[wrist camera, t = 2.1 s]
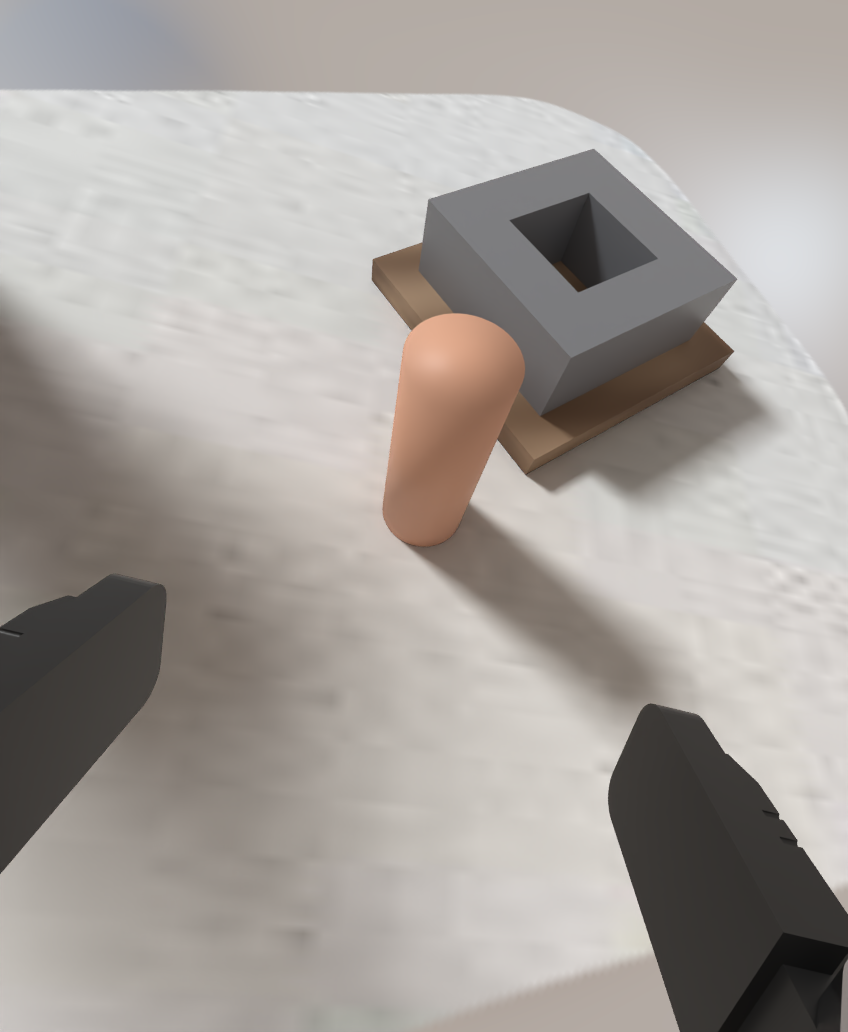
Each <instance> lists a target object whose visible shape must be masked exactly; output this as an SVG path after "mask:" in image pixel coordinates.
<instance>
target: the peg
mask: <svg viewBox="0 0 848 1032" xmlns="http://www.w3.org/2000/svg"><path fill="white" fill-rule="evenodd" d="M524 375H525V362H524V358H523V355H522V353H521V350H520V348H519V347H518V345H517V343H516V342H515V341H514V340H513V338H512V337H511V336H510V335H509V334H508V333H507V332H505V331H504V330H503V329H502V328H500V327H499V326H497V325H496V324H494V323H492V322H490V321H488V320H485V319H483V318H480V317H477V316H473V315H468V314H460V313H451V314H443V315H438V316H435V317H431V318H429V319H427V320H425V321H423V322H422V323H420V324H419V325H417V326H416V327H415V328H414V329H413V330H412V331H411V332H410V334H409V335H408V337H407V339H406V341H405V344H404V348H403V355H402V362H401V370H400V378H399V385H398V393H397V400H396V408H395V416H394V423H393V431H392V438H391V446H390V454H389V461H388V469H387V476H386V484H385V492H384V499H383V516H384V520H385V522H386V525H387V526H388V528H389V529H390V531H391V532H392V533H393V534H394V535H395V536H396V537H398V538H399V539H400V540H402V541H404V542H406V543H408V544H411V545H415V546H422V547H427V546H434V545H437V544H440V543H442V542H444V541H446V540H447V539H449V538H450V537H451V536H452V535H453V534H454V533H455V531H456V530H457V528H458V526H459V524H460V521H461V519H462V517H463V515H464V512H465V510H466V508H467V506H468V503H469V501H470V499H471V497H472V494H473V492H474V490H475V488H476V486H477V483H478V481H479V479H480V477H481V474H482V472H483V470H484V468H485V465H486V463H487V461H488V459H489V456H490V454H491V452H492V450H493V447H494V445H495V443H496V441H497V438H498V436H499V434H500V432H501V429H502V427H503V425H504V423H505V420H506V418H507V416H508V414H509V412H510V409H511V407H512V405H513V403H514V400H515V398H516V396H517V394H518V391H519V389H520V387H521V385H522V382H523V379H524Z"/></svg>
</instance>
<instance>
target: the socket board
mask: <svg viewBox="0 0 848 1032" xmlns="http://www.w3.org/2000/svg"><path fill="white" fill-rule="evenodd" d="M422 243H423V242H422ZM422 243H419V244H416V245H414V246H411V247H408V248H405V249H402V250H399V251H396V252H393V253H390V254H387V255H384V256H381V257H378V258H375V259H373V265H372V281H373V282H374V283H375V284H376V286H377V287H378V288H379V290H380V291H381V292H382V293H383V295H384V296H385V297H386V298H387V300H388V301H389V302H390V303H391V305H392V306H393V307H394V309H395V310H396V311H397V312H398V314H399V315H400V316H401V317H402V319H403V320H404V321H405V322H406V324H407V325H408V326H409V328H410V329H411V330H413V329H414V328H415V327H416V326H417V325H419V324H420V323H422V322H423V321H425V320H427V319H429V318H431V317H435V316H438V315H443V314H451V313H453V311H452V310H451V309H450V308H449V307H448V305H447V304H446V303H445V302H444V301H443V300H442V298H441V297H440V296H439V295H438V294H437V292H436V291H435V290H434V289H433V288H432V286H431V285H430V284H429V283H428V282H427V280H426V279H425V278H424V277H423V276H422V274H421V273H420V272H419V264H420V257H421V250H422ZM552 266H553V267H554V268H555V269H556V270H557V271H558V272H559V273H560V274H561V275H562V276H563V277H564V278H565V279H566V280H567V281H568V282H569V283H570V284H571V285H572V287H573V288H574V289H575V290H576V291H577V292H581V291H583V290H585V289H588V288H587V287H586V286H585V285H584V284H583V283H582V282H581V281H580V280H579V279H578V278H577V277H576V276H575V275H574V274H573V273H572V272H571V271H570V270H569V269H568V268H567V267H566V266H565V265H564V264H563V262H562V261H559V262H557V263H554V264H552ZM733 352H734V351H733V350H732V349H731V348H730V347H729V346H728V345H727V344H726V343H725V342H724V341H723V340H722V339H721V338H720V337H719V336H718V335H717V334H716V333H715V332H714V331H713V330H712V329H711V328H710V327H709V326H708V325H707V324H705V323H704V322H703V324H702V325H701V326H700V327H699V329H698V330H697V331H696V332H695V334H694V335H693V336H692V338H691V339H690V340H689V341H687V342H685V343H683V344H681V345H679V346H677V347H675V348H673V349H671V350H669V351H667V352H665V353H663V354H661V355H659V356H657V357H655V358H653V359H651V360H649V361H647V362H645V363H643V364H641V365H639V366H638V367H636V368H634V369H632V370H630V371H628V372H626V373H624V374H622V375H620V376H618V377H616V378H614V379H612V380H610V381H608V382H606V383H604V384H602V385H600V386H598V387H596V388H594V389H592V390H590V391H588V392H587V393H585V394H583V395H581V396H579V397H577V398H575V399H573V400H571V401H569V402H567V403H565V404H563V405H561V406H559V407H557V408H555V409H553V410H551V411H549V412H547V413H545V414H543V415H541V416H539V414H538V413H537V412H536V411H535V410H534V408H533V407H532V406H531V405H530V404H529V402H528V401H527V400H526V399H525V398H524V396H523V395H522V394H521V393H520V392H519V391H518V394H517V396H516V398H515V400H514V403H513V405H512V407H511V409H510V412H509V414H508V416H507V418H506V420H505V423H504V425H503V427H502V429H501V432H500V434H499V436H498V438H497V439H498V440H499V442H500V443H501V444H502V445H503V447H504V448H505V449H506V450H507V452H508V453H509V454H510V456H511V457H512V458H513V459H514V461H515V462H516V463H517V464H518V466H519V467H520V468H521V469H522V471H523V472H524V473H525V475H526V474H527V473H529V472H531V471H533V470H535V469H536V468H538V467H540V466H542V465H544V464H546V463H547V462H549V461H551V460H553V459H555V458H556V457H558V456H560V455H562V454H564V453H565V452H567V451H569V450H571V449H573V448H575V447H576V446H578V445H580V444H582V443H584V442H585V441H587V440H589V439H591V438H593V437H595V436H596V435H598V434H600V433H602V432H604V431H605V430H607V429H609V428H611V427H613V426H615V425H616V424H618V423H620V422H622V421H624V420H625V419H627V418H629V417H631V416H633V415H634V414H636V413H638V412H640V411H642V410H644V409H645V408H647V407H649V406H651V405H653V404H654V403H656V402H658V401H660V400H662V399H664V398H665V397H667V396H669V395H671V394H673V393H674V392H676V391H678V390H680V389H682V388H684V387H685V386H687V385H689V384H691V383H693V382H694V381H696V380H698V379H700V378H702V377H703V376H705V375H707V374H709V373H711V372H713V371H714V370H716V369H718V368H719V367H720V366H721V365H722V364H723V363H724V362H725V361H726V360H727V359H728V358H729V356H730V355H731V354H732V353H733Z"/></svg>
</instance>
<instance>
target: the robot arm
mask: <svg viewBox="0 0 848 1032" xmlns="http://www.w3.org/2000/svg"><path fill="white" fill-rule="evenodd" d="M165 609H166V590H165V588H164V586H163V585H161V584H157V583H153V582H149V581H145V580H140V579H136V578H132V577H128V576H124V575H120V574H111V575H109V576H107V577H106V578H104V579H103V580H101V581H100V582H98V583H97V584H96V585H94V586H93V587H91V588H90V589H88V590H87V591H85V592H84V593H82V594H81V595H79V596H78V597H73V596H65V597H62V598H59V599H56V600H53V601H50V602H47V603H44V604H41V605H38V606H35V607H32V608H29V609H28V610H26V611H25V612H23V613H22V614H20V615H18V616H17V617H15V618H14V619H12V620H11V621H9V622H7V623H6V624H4V625H3V626H1V627H0V874H1V872H2V871H3V870H4V869H5V868H6V867H7V865H8V864H9V863H10V862H11V861H12V859H13V858H14V857H15V856H16V855H17V854H18V852H19V851H20V850H21V849H22V848H23V847H24V845H25V844H26V843H27V842H28V841H29V839H30V838H31V837H32V836H33V835H34V834H35V832H36V831H37V830H38V829H39V828H40V827H41V825H42V824H43V823H44V822H45V821H46V819H47V818H48V817H49V816H50V815H51V814H52V812H53V811H54V810H55V809H56V808H57V807H58V805H59V804H60V803H61V802H62V801H63V799H64V798H65V797H66V796H67V795H68V794H69V792H70V791H71V790H72V789H73V788H74V787H75V785H76V784H77V783H78V782H79V781H80V779H81V778H82V777H83V776H84V775H85V774H86V772H87V771H88V770H89V769H90V768H91V767H92V765H93V764H94V763H95V762H96V761H97V759H98V758H99V757H100V756H101V755H102V754H103V752H104V751H105V750H106V749H107V748H108V747H109V745H110V744H111V743H112V742H113V741H114V739H115V738H116V737H117V736H118V735H119V734H120V732H121V731H122V730H123V729H124V728H125V727H126V725H127V724H128V723H129V722H130V721H131V719H132V718H133V717H134V716H135V715H136V714H137V712H138V711H139V710H140V709H141V708H142V706H143V705H144V704H145V702H146V701H147V699H148V698H149V696H150V694H151V692H152V690H153V688H154V685H155V683H156V680H157V677H158V674H159V669H160V662H161V652H162V641H163V631H164V620H165ZM608 805H609V813H610V817H611V820H612V823H613V827H614V830H615V833H616V836H617V839H618V842H619V845H620V848H621V851H622V854H623V857H624V860H625V864H626V867H627V870H628V873H629V876H630V879H631V882H632V885H633V888H634V891H635V894H636V897H637V901H638V904H639V907H640V910H641V913H642V916H643V919H644V922H645V925H646V928H647V931H648V934H649V938H650V941H651V944H652V947H653V950H654V953H655V956H656V959H657V962H658V965H659V968H660V972H661V975H662V978H663V981H664V984H665V987H666V990H667V993H668V996H669V999H670V1002H671V1005H672V1008H673V1012H674V1015H675V1018H676V1021H677V1024H678V1027H679V1030H680V1032H848V914H847V913H846V911H845V910H844V908H843V907H842V905H841V904H840V902H839V901H838V899H837V898H836V896H835V895H834V893H833V892H832V890H831V889H830V888H829V886H828V885H827V883H826V882H825V880H824V879H823V877H822V876H821V874H820V873H819V871H818V870H817V868H816V867H815V866H814V864H813V863H812V861H811V860H810V858H809V857H808V855H807V854H806V852H805V851H804V849H803V848H801V847H798V846H797V839H796V838H795V836H794V835H793V833H792V832H791V830H790V829H789V827H788V826H787V824H786V823H785V822H784V820H780V819H779V813H778V811H777V810H776V808H775V807H774V805H773V804H772V802H771V801H770V800H769V798H768V797H767V795H766V794H765V792H764V791H763V789H762V788H761V786H760V785H759V783H758V782H757V781H756V780H755V779H754V778H752V777H751V776H750V775H749V774H748V773H747V772H746V771H745V770H744V769H743V768H742V767H741V766H740V765H739V764H738V763H737V762H736V761H735V760H734V759H733V758H731V757H730V756H729V755H728V754H725V753H724V751H723V750H722V748H721V746H720V745H719V743H718V742H717V740H716V739H715V737H714V736H713V734H712V733H711V731H710V730H709V728H708V726H707V725H706V723H705V722H704V720H703V719H702V718H701V717H700V716H699V715H697V714H693V713H689V712H685V711H681V710H677V709H673V708H668V707H664V706H660V705H656V704H648V705H646V706H645V707H644V708H643V709H642V710H641V712H640V714H639V715H638V718H637V720H636V722H635V724H634V727H633V729H632V731H631V733H630V736H629V738H628V740H627V742H626V745H625V747H624V749H623V751H622V753H621V756H620V758H619V760H618V762H617V765H616V767H615V769H614V771H613V774H612V776H611V780H610V785H609V792H608Z"/></svg>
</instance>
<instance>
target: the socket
mask: <svg viewBox="0 0 848 1032" xmlns="http://www.w3.org/2000/svg"><path fill="white" fill-rule="evenodd" d="M559 261H562V262H563V264H564V265H565V266H566V267H567V268H568V269H569V270H570V271H571V272H572V273H573V274H574V275H575V276H576V277H577V278H578V279H579V280H580V281H581V282H582V283H583V284H584V285H585V286H586V287H587V288H588V289H585V290H583V291H581V292H577V291H576V290H575V289H574V288H573V287H572V285H571V284H570V283H569V282H568V281H567V280H566V279H565V278H564V277H563V276H562V275H561V274H560V273H559V272H558V271H557V270H556V269H555V268H554V267H553V266H552V264H554V263H557V262H559ZM419 272H420V273H421V274H422V276H423V277H424V278H425V279H426V280H427V282H428V283H429V284H430V285H431V286H432V288H433V289H434V290H435V291H436V292H437V294H438V295H439V296H440V297H441V298H442V300H443V301H444V302H445V303H446V304H447V305H448V307H449V308H450V309H451V310H452V311H453V313H460V314H468V315H473V316H477V317H480V318H483V319H485V320H488V321H490V322H492V323H494V324H496V325H497V326H499V327H500V328H502V329H503V330H504V331H505V332H507V333H508V334H509V335H510V336H511V337H512V338H513V340H514V341H515V342H516V343H517V345H518V347H519V348H520V350H521V353H522V355H523V358H524V362H525V375H524V379H523V382H522V385H521V387H520V389H519V392H520V393H521V394H522V395H523V396H524V398H525V399H526V400H527V401H528V402H529V404H530V405H531V406H532V407H533V408H534V410H535V411H536V412H537V413H538V414H539V416H541V415H543V414H545V413H547V412H549V411H551V410H553V409H555V408H557V407H559V406H561V405H563V404H565V403H567V402H569V401H571V400H573V399H575V398H577V397H579V396H581V395H583V394H585V393H587V392H588V391H590V390H592V389H594V388H596V387H598V386H600V385H602V384H604V383H606V382H608V381H610V380H612V379H614V378H616V377H618V376H620V375H622V374H624V373H626V372H628V371H630V370H632V369H634V368H636V367H638V366H639V365H641V364H643V363H645V362H647V361H649V360H651V359H653V358H655V357H657V356H659V355H661V354H663V353H665V352H667V351H669V350H671V349H673V348H675V347H677V346H679V345H681V344H683V343H685V342H687V341H689V340H690V339H691V338H692V336H693V335H694V334H695V332H696V331H697V330H698V329H699V327H700V326H701V325H702V324H703V322H704V321H705V320H706V318H707V317H708V316H709V315H710V313H711V312H712V311H713V310H714V308H715V307H716V306H717V304H718V303H719V302H720V301H721V299H722V298H723V297H724V295H725V294H726V293H727V292H728V290H729V289H730V288H731V287H732V285H733V284H734V283H735V281H736V280H737V278H736V277H735V276H734V275H732V274H731V273H730V272H729V271H728V270H727V269H726V268H725V267H724V266H723V265H721V264H720V263H719V262H718V261H717V260H716V259H715V258H714V257H713V256H711V255H710V254H709V253H708V252H707V251H706V250H705V249H704V248H703V247H702V246H700V245H699V244H698V243H697V242H696V241H695V240H694V239H693V238H692V237H691V236H689V235H688V234H687V233H686V232H685V231H684V230H683V229H682V228H681V227H680V226H678V225H677V224H676V223H675V222H674V221H673V220H672V219H671V218H670V217H668V216H667V215H666V214H665V213H664V212H663V211H662V210H661V209H660V208H659V207H657V206H656V205H655V204H654V203H653V202H652V201H651V200H650V199H649V198H648V197H646V196H645V195H644V194H643V193H642V192H641V191H640V190H639V189H638V188H637V187H635V186H634V185H633V184H632V183H631V182H630V181H629V180H628V179H627V178H626V177H624V176H623V175H622V174H621V173H620V172H619V171H618V170H617V169H616V168H614V167H613V166H612V165H611V164H610V163H609V162H608V161H607V160H606V159H605V158H603V157H602V156H601V155H600V154H599V153H598V152H597V151H596V150H595V149H592V150H588V151H585V152H582V153H578V154H575V155H572V156H569V157H565V158H562V159H559V160H556V161H552V162H549V163H546V164H543V165H539V166H536V167H533V168H529V169H526V170H523V171H520V172H516V173H513V174H510V175H507V176H503V177H500V178H497V179H494V180H490V181H487V182H484V183H480V184H477V185H474V186H471V187H467V188H464V189H461V190H458V191H454V192H451V193H448V194H444V195H441V196H438V197H435V198H431V199H429V200H428V207H427V214H426V221H425V228H424V236H423V243H422V250H421V257H420V264H419Z"/></svg>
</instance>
